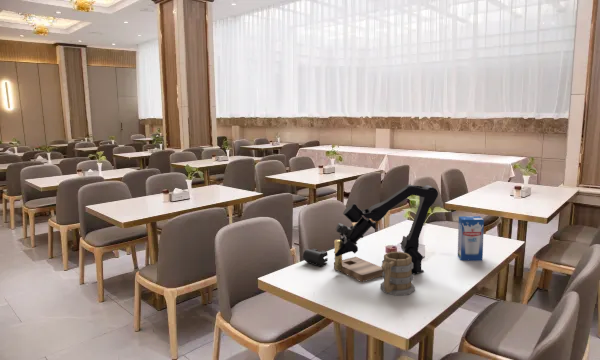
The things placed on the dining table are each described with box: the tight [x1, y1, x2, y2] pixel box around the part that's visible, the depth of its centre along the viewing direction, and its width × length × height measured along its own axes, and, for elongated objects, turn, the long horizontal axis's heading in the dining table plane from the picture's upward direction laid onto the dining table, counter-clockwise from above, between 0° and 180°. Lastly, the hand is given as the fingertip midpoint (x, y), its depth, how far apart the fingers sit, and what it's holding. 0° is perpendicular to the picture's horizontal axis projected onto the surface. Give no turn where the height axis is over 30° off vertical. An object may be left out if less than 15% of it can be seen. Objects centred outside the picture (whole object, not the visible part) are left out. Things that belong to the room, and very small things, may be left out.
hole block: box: [333, 256, 384, 283], centre depth 193 cm, size 20×13×3 cm, turn 32°
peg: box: [333, 238, 343, 271], centre depth 190 cm, size 3×3×13 cm
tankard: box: [380, 251, 416, 296], centre depth 170 cm, size 20×13×15 cm, turn 141°
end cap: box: [302, 248, 329, 267], centre depth 205 cm, size 10×7×7 cm
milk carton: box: [457, 215, 485, 262], centre depth 205 cm, size 10×6×20 cm, turn 84°
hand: (335, 254), depth 190 cm, fingers closed on peg, 3 cm apart
